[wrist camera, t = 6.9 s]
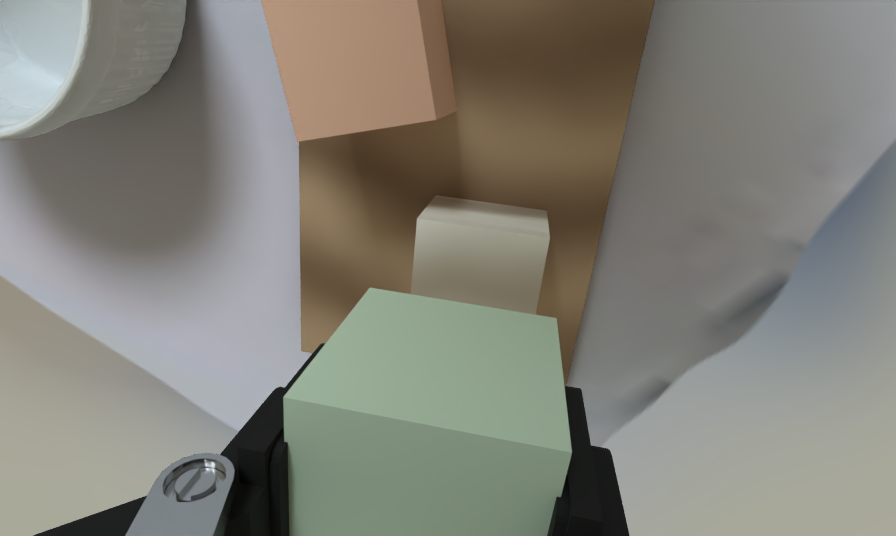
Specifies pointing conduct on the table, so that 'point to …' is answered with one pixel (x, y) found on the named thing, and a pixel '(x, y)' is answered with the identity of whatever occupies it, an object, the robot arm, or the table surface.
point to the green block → (428, 423)
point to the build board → (481, 171)
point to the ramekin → (80, 58)
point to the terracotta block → (361, 63)
